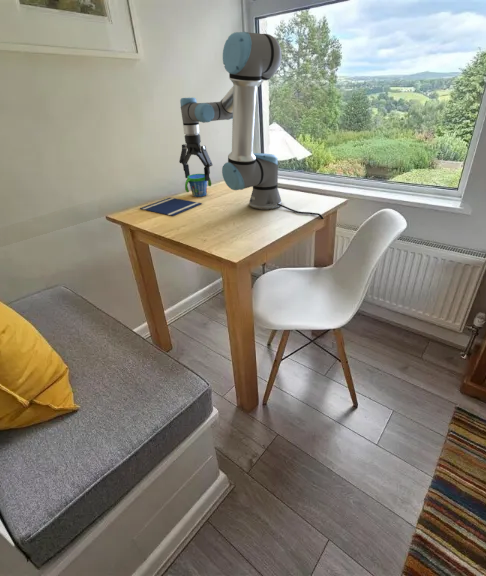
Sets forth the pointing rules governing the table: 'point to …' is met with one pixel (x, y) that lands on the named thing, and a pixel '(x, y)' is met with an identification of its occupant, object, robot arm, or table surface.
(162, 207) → the towel
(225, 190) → the table surface
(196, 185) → the snack cup
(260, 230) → the table surface
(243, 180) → the robot arm
